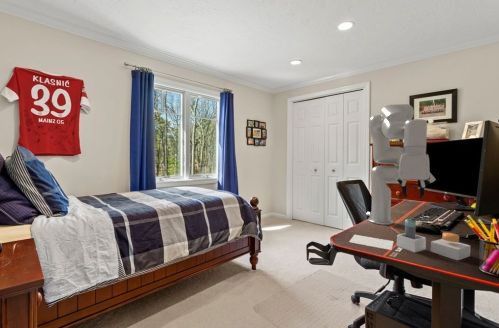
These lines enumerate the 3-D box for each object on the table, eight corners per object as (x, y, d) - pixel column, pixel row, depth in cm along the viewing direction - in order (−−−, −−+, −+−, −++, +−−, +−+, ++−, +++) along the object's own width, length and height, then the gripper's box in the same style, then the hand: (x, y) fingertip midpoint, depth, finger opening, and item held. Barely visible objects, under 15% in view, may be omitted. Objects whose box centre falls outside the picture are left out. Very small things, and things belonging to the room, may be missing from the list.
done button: (439, 238, 98) (439, 233, 98) (446, 236, 101) (446, 231, 100) (454, 242, 94) (455, 237, 94) (461, 240, 96) (461, 235, 96)
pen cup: (396, 246, 104) (397, 234, 104) (407, 244, 108) (407, 232, 107) (414, 253, 98) (415, 240, 98) (425, 250, 101) (425, 237, 101)
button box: (430, 251, 99) (430, 241, 99) (442, 248, 103) (443, 238, 103) (457, 260, 91) (458, 249, 91) (470, 256, 96) (470, 245, 95)
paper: (348, 242, 109) (348, 241, 109) (354, 234, 119) (354, 234, 119) (391, 250, 100) (391, 249, 100) (393, 241, 110) (393, 241, 110)
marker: (402, 246, 104) (403, 219, 103) (407, 244, 105) (408, 218, 105) (411, 249, 100) (412, 221, 100) (416, 247, 102) (417, 220, 102)
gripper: (389, 150, 102) (388, 195, 103) (441, 151, 93) (439, 200, 94) (390, 151, 109) (389, 193, 109) (440, 151, 100) (438, 197, 100)
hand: (412, 196), depth 102 cm, fingers open, 4 cm apart
